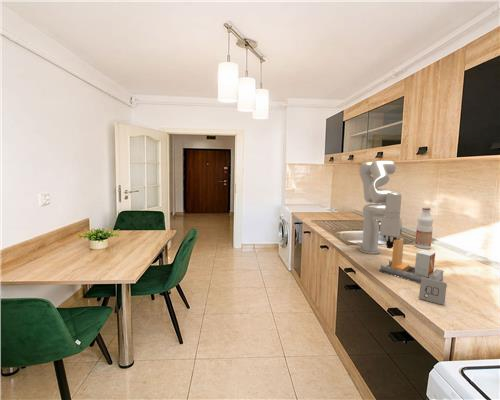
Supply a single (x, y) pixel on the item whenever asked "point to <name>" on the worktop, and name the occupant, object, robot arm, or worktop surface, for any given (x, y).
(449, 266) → the worktop surface
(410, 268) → the din rail
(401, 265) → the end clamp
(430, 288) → the electrical switch
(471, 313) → the worktop surface
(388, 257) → the worktop surface
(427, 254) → the small box
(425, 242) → the fruit juice
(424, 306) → the worktop surface
